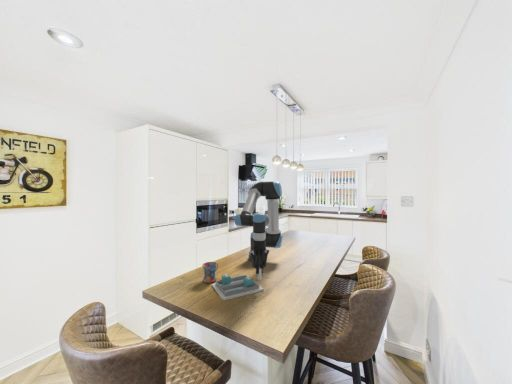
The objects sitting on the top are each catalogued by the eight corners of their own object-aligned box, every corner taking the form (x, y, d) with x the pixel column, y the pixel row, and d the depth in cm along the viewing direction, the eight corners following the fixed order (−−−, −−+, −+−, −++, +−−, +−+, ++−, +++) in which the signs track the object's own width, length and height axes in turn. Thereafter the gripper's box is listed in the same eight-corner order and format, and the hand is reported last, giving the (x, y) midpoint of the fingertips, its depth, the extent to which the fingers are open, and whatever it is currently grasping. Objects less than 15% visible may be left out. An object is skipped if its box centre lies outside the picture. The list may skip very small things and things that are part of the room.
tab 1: (228, 282, 130) (228, 273, 129) (230, 285, 126) (230, 275, 126) (221, 284, 128) (221, 274, 128) (224, 286, 124) (224, 277, 124)
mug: (209, 285, 129) (209, 267, 129) (199, 281, 134) (199, 264, 134) (223, 278, 139) (223, 262, 139) (212, 275, 144) (212, 259, 144)
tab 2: (249, 284, 126) (249, 275, 126) (252, 287, 123) (252, 277, 123) (243, 286, 124) (243, 276, 124) (246, 289, 121) (246, 279, 121)
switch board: (247, 277, 140) (247, 273, 140) (263, 290, 122) (263, 284, 122) (212, 285, 128) (212, 280, 128) (223, 300, 111) (223, 294, 111)
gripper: (265, 237, 133) (265, 274, 133) (246, 239, 127) (246, 278, 127) (271, 239, 127) (271, 279, 127) (252, 241, 121) (252, 283, 121)
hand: (259, 278), depth 127 cm, fingers closed
